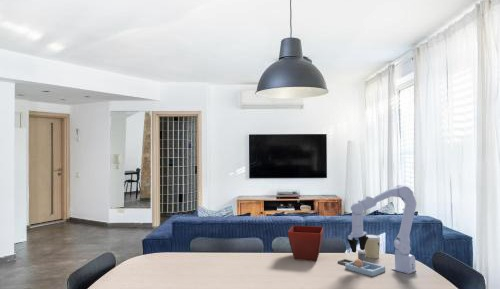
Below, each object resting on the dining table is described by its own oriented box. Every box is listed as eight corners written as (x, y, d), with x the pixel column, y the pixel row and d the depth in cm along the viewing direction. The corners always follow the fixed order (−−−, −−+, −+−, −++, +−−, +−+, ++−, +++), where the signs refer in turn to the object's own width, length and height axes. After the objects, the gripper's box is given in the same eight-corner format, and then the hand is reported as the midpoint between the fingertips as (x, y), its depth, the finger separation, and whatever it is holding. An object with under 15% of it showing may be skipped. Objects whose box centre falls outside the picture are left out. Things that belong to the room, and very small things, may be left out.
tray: (385, 271, 180) (385, 266, 180) (372, 276, 173) (372, 271, 173) (358, 264, 193) (358, 259, 193) (345, 268, 185) (345, 264, 185)
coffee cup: (382, 258, 203) (382, 238, 203) (366, 258, 203) (366, 238, 203) (377, 254, 212) (376, 234, 212) (361, 254, 212) (361, 234, 213)
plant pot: (287, 261, 200) (287, 231, 201) (293, 252, 218) (292, 225, 219) (321, 263, 195) (320, 233, 195) (324, 254, 213) (323, 226, 213)
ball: (357, 266, 189) (357, 257, 189) (364, 268, 185) (364, 259, 186) (352, 267, 186) (352, 259, 186) (359, 269, 183) (359, 261, 183)
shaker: (367, 262, 195) (367, 251, 195) (363, 264, 193) (362, 252, 193) (360, 261, 199) (360, 249, 199) (356, 262, 196) (356, 250, 196)
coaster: (355, 263, 194) (355, 261, 194) (347, 265, 190) (347, 264, 190) (344, 260, 200) (344, 258, 200) (337, 263, 195) (337, 261, 195)
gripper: (358, 222, 194) (359, 247, 194) (343, 226, 185) (343, 251, 185) (370, 224, 189) (370, 249, 188) (354, 228, 180) (355, 254, 179)
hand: (358, 251), depth 186 cm, fingers open, 7 cm apart
